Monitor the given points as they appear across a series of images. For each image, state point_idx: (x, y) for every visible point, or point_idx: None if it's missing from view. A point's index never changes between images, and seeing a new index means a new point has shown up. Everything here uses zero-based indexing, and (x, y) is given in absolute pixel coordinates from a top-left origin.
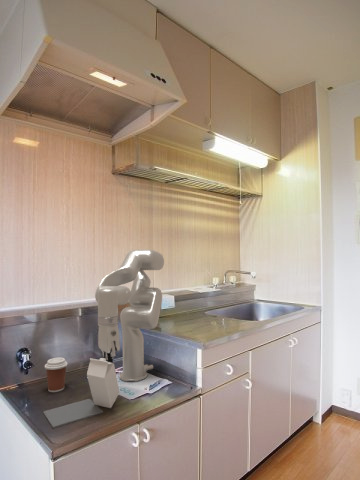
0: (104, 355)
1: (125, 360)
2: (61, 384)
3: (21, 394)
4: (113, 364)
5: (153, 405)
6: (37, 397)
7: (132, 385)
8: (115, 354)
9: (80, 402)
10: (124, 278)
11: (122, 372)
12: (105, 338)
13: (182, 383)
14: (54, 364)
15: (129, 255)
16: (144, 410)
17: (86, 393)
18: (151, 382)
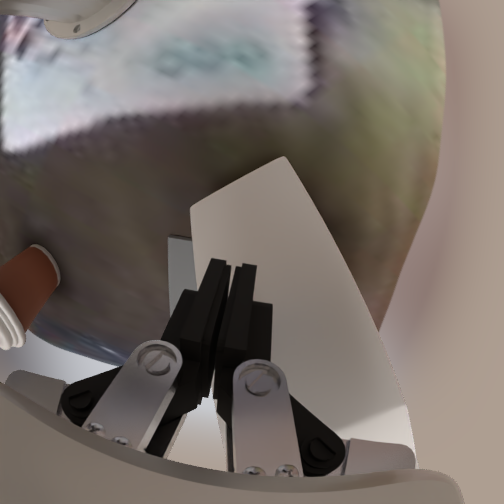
0: (176, 432)
1: (31, 2)
2: (45, 274)
3: (53, 328)
4: (403, 400)
5: (430, 88)
6: (77, 320)
7: (169, 9)
8: (413, 465)
9: (180, 277)
10: None
11: (46, 20)
12: None
13: None
14: (11, 342)
15: None
16: (432, 142)
17: (108, 214)
18: None
